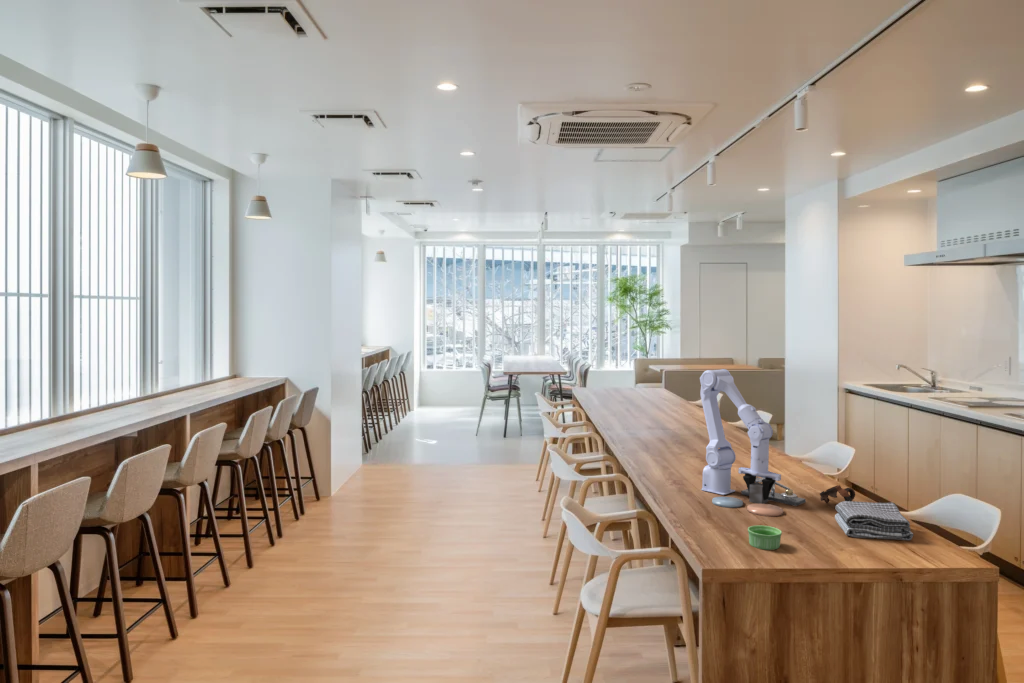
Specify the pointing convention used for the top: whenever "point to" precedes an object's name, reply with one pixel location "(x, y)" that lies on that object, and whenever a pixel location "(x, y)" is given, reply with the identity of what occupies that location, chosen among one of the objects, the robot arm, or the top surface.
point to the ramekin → (764, 537)
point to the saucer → (727, 502)
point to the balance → (781, 498)
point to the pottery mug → (833, 493)
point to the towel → (872, 520)
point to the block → (756, 493)
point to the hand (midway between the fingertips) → (758, 497)
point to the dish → (765, 509)
